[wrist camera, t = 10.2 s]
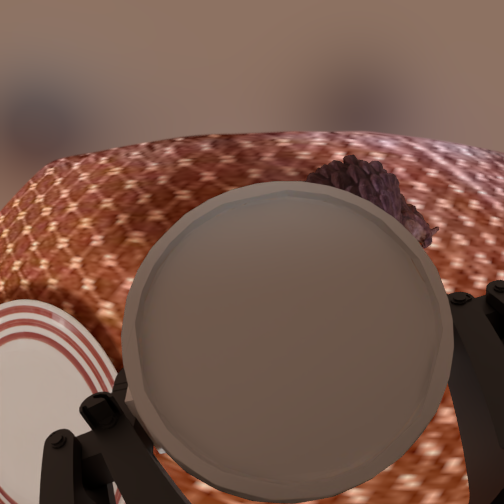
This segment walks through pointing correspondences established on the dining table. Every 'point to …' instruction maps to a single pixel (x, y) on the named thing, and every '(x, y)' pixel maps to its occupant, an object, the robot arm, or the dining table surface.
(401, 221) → the pine cone
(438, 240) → the dining table surface
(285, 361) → the disposable coffee cup
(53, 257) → the dining table surface
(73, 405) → the dinner plate
